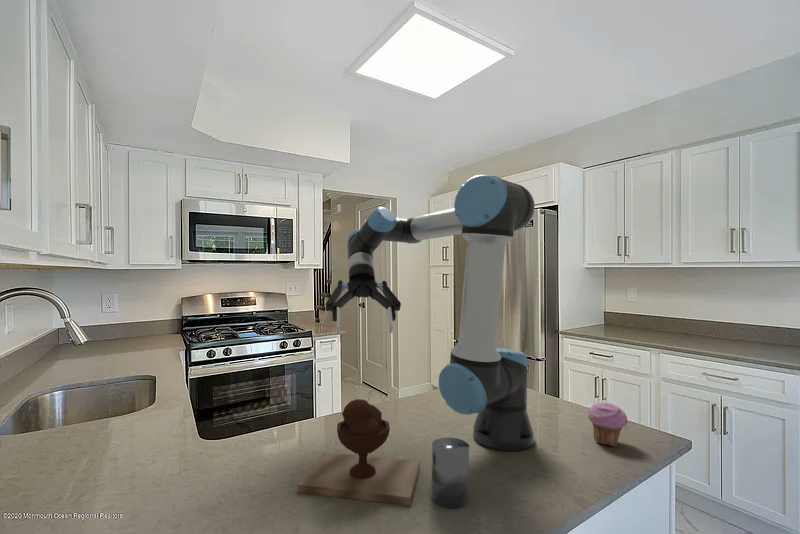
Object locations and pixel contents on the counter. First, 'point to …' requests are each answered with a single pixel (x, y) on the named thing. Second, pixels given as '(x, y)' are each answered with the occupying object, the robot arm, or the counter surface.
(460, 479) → the metal tin
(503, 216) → the robot arm
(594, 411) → the cupcake
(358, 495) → the walnut board
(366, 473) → the ice cream bowl
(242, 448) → the counter surface
